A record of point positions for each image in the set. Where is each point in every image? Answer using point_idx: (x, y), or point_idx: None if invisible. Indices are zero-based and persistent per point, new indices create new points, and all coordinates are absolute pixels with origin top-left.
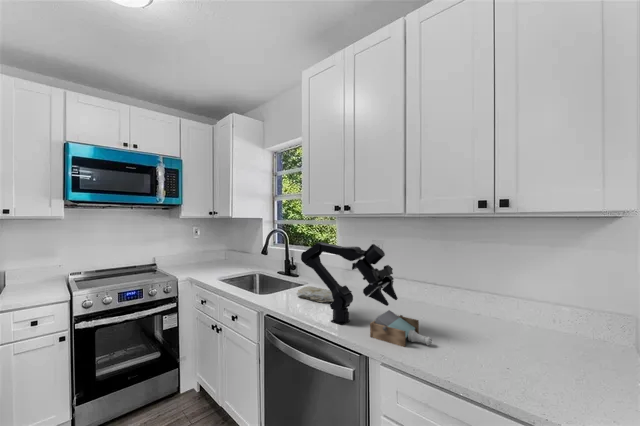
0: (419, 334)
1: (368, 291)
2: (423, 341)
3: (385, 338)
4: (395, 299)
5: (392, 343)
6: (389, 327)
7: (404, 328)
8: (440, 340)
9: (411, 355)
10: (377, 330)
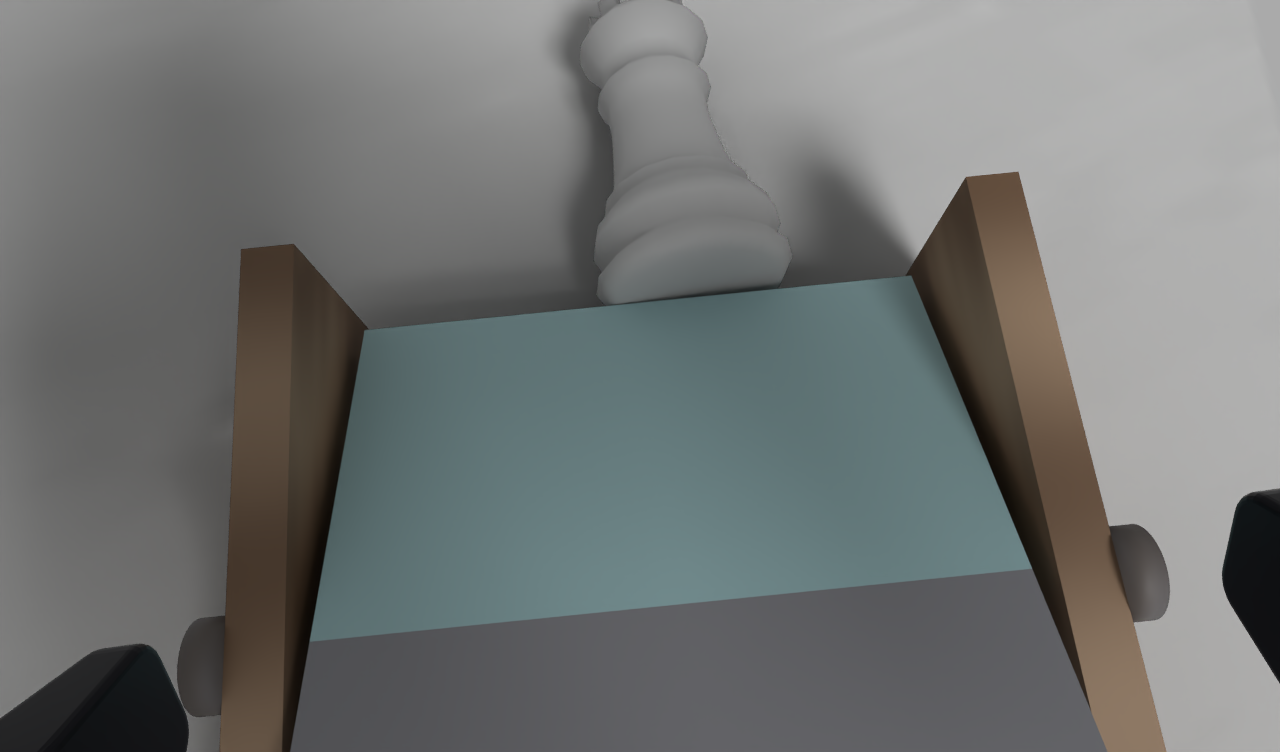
0: (656, 128)
1: None
2: (704, 91)
3: None
4: (172, 747)
5: None
6: (1066, 492)
7: (630, 397)
8: (374, 49)
9: (1073, 122)
10: None
